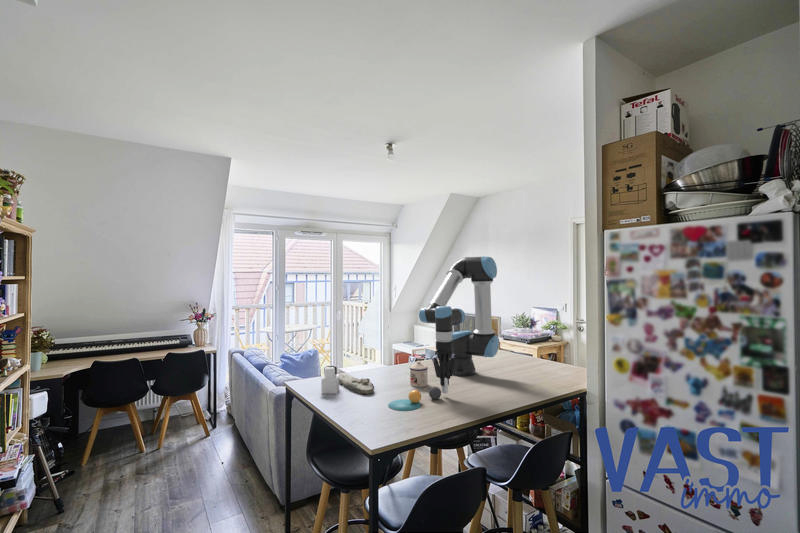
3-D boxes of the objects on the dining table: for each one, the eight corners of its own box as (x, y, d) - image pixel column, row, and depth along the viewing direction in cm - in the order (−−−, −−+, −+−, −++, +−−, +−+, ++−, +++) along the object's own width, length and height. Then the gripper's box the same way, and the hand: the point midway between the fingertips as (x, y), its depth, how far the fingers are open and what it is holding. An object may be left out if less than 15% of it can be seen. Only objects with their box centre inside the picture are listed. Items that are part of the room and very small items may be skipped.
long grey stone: (348, 380, 212) (331, 384, 206) (347, 370, 212) (330, 374, 206) (380, 392, 183) (362, 397, 177) (379, 381, 183) (361, 385, 177)
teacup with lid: (406, 383, 197) (406, 360, 197) (422, 381, 201) (422, 358, 201) (418, 390, 186) (418, 365, 186) (434, 387, 190) (434, 363, 190)
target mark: (410, 397, 175) (410, 397, 175) (427, 407, 162) (427, 406, 162) (382, 403, 168) (382, 402, 168) (398, 413, 156) (398, 412, 156)
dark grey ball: (427, 384, 173) (425, 397, 173) (435, 388, 169) (432, 400, 168) (437, 385, 176) (434, 397, 176) (444, 388, 172) (442, 401, 171)
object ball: (416, 386, 171) (405, 390, 169) (422, 390, 166) (411, 394, 164) (417, 398, 172) (407, 403, 169) (424, 402, 167) (413, 406, 164)
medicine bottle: (324, 389, 189) (324, 364, 189) (339, 389, 189) (339, 364, 189) (321, 394, 182) (321, 368, 182) (336, 394, 182) (336, 368, 182)
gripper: (450, 338, 182) (451, 388, 182) (427, 340, 176) (428, 392, 175) (460, 340, 176) (461, 392, 175) (436, 343, 169) (437, 397, 169)
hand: (444, 392), depth 175 cm, fingers closed
